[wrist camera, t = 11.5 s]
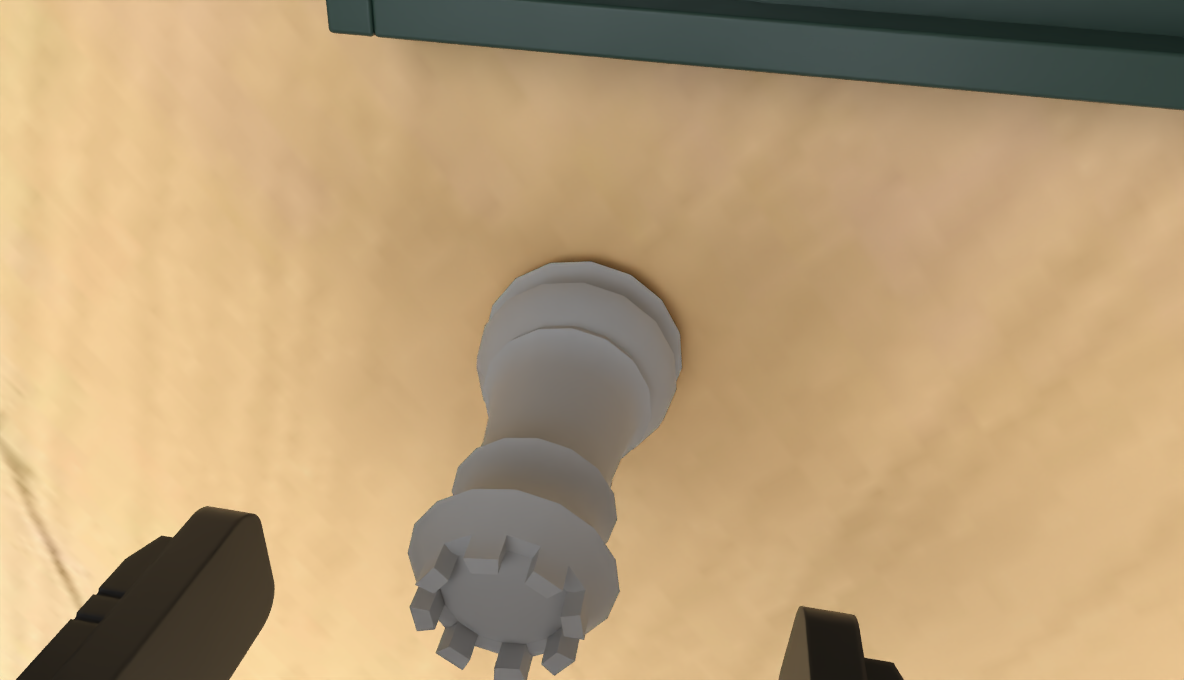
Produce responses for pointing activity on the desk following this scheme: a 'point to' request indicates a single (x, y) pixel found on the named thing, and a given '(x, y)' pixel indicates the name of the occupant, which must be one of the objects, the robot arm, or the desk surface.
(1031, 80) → the tray
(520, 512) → the rook chess piece
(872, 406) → the desk surface
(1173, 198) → the desk surface
